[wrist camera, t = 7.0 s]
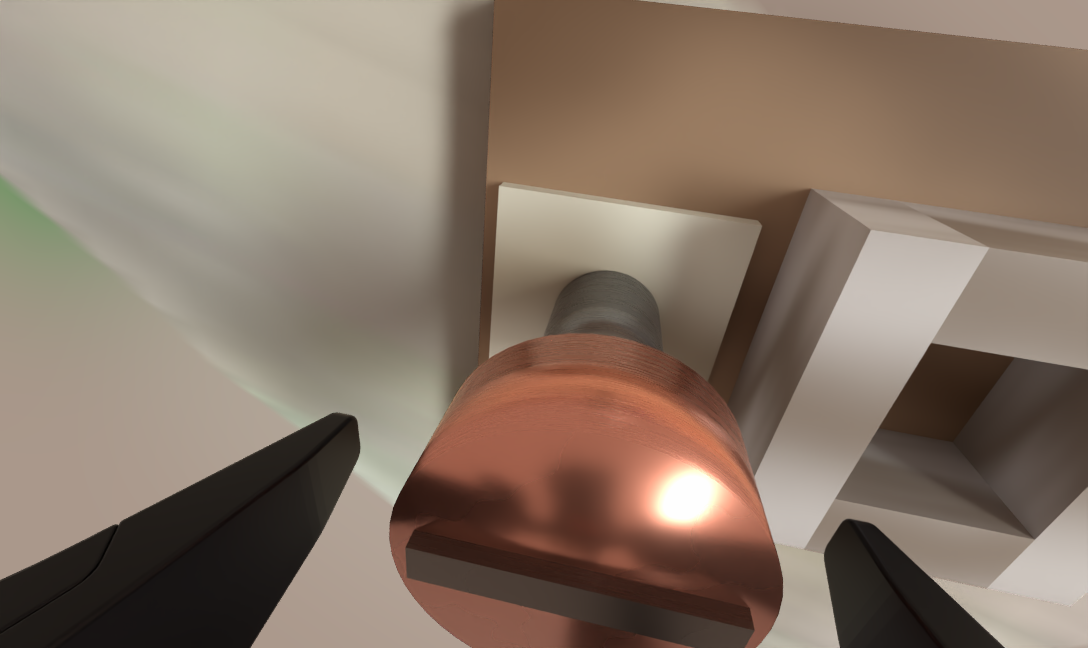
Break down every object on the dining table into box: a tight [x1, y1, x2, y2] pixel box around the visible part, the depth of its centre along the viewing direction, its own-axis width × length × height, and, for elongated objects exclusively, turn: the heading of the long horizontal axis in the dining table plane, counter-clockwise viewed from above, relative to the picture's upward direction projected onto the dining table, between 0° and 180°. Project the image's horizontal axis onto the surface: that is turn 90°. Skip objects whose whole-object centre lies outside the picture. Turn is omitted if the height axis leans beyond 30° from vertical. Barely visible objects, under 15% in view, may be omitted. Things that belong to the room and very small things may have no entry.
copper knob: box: [389, 270, 783, 648], centre depth 10 cm, size 6×6×9 cm
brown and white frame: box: [478, 0, 1088, 607], centre depth 13 cm, size 16×18×5 cm
